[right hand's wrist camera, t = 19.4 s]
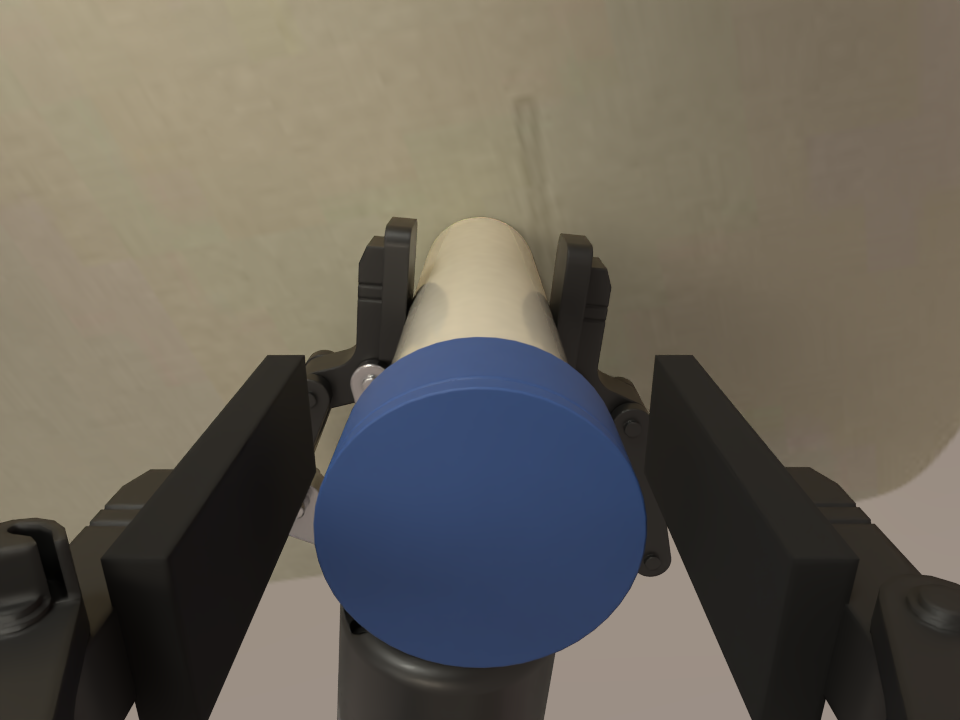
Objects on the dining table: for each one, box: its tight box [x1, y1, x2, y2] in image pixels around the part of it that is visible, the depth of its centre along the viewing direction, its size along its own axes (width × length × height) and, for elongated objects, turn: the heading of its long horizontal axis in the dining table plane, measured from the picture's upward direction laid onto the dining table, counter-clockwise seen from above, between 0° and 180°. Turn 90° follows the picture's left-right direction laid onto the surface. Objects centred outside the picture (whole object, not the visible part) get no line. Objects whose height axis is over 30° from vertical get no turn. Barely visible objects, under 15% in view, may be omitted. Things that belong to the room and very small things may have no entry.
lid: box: [313, 337, 647, 668], centre depth 11 cm, size 5×5×2 cm
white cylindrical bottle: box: [391, 217, 568, 365], centre depth 19 cm, size 4×4×16 cm
